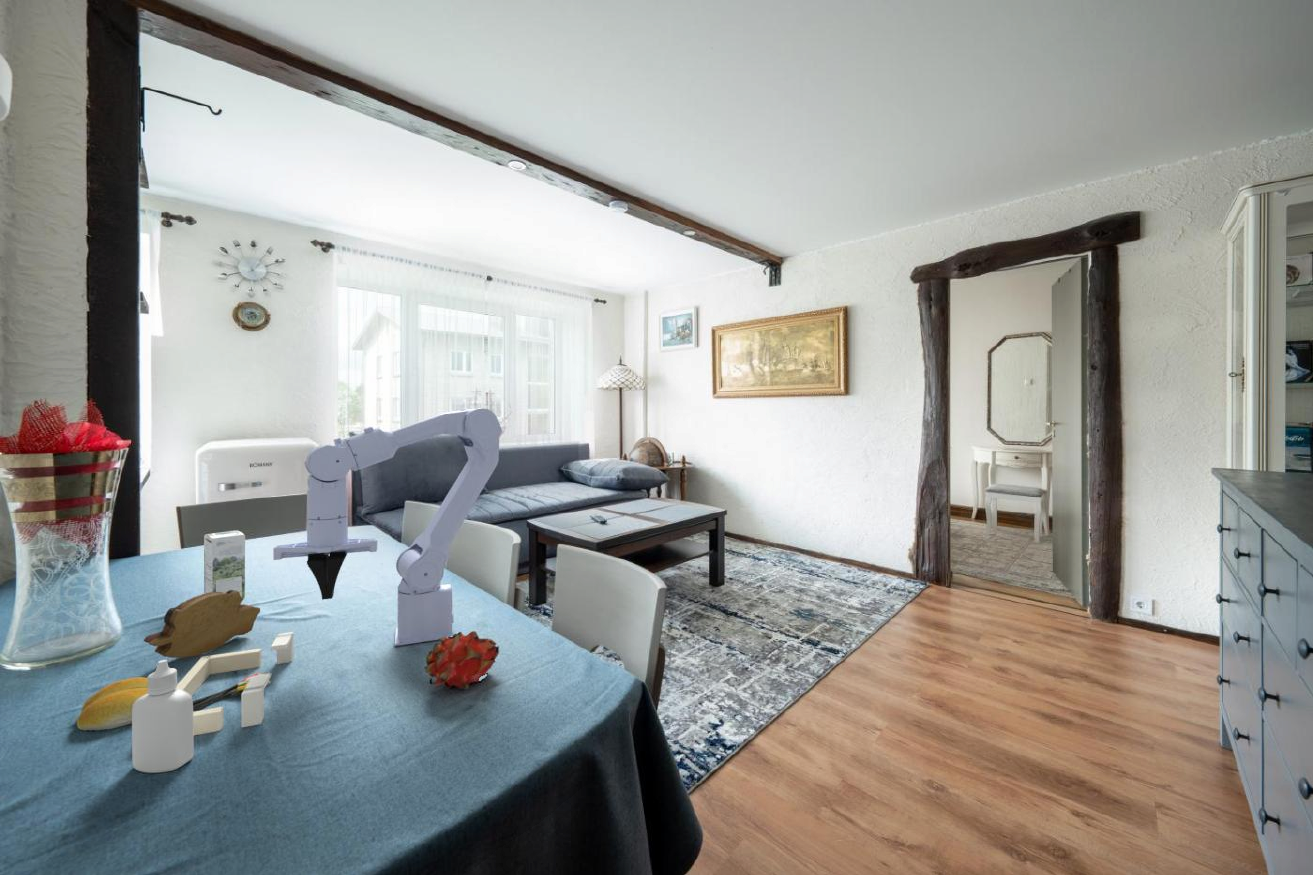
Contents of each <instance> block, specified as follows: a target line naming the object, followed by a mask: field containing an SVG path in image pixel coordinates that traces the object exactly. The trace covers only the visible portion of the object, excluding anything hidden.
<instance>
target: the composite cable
mask: <svg viewBox="0 0 1313 875" xmlns="http://www.w3.org/2000/svg"><path fill="white" fill-rule="evenodd" d="M268 673H269V671H265V672H262V673H261V672H257V673H254V674H252V675H250V676H248V677H246V678H244V679H242V680H241V681H239V682H237V683H236V684H234V685H233V686H231V687H229V688H226V689H224V690H222V691H220V692H216V693H213V694H211V695H207V696H204V697H202V698H198V699H196V700H193V712H195V711H200V710H201V709H203V708H205V707H207V706H209V705H211V704H212V703H214V702H216V701H219V700H222V699H226V698H233V697H238V696H241V694H242V692H243V691H244V689H245V687H246V686H247V684H248V683H249V681H250V679H251V678H252V676H256V675H262V674H268ZM271 677H272V673H270V678H271ZM271 683H272V682H271V680H269V681H268V683H267V685H270V684H271ZM267 685H266V686H267Z"/></svg>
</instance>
